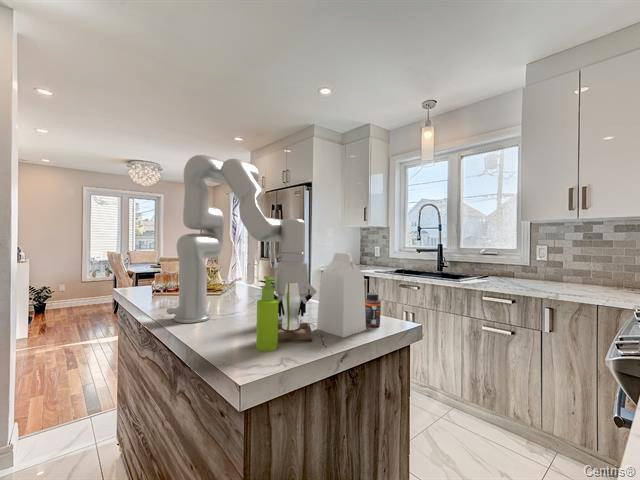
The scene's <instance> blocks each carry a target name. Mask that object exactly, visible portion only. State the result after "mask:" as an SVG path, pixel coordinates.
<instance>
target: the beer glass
mask: <svg viewBox="0 0 640 480" xmlns="http://www.w3.org/2000/svg"><path fill="white" fill-rule="evenodd" d="M301 304H302V295H299V289H298V283H286V289H285V295H281V307H282V314H283V321H282V326H281V330H283V331H286V332H296V331H299V330H300V329H301V327H300V323H301V322H300V316H301Z"/></svg>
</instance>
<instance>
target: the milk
mask: <svg viewBox="0 0 640 480" xmlns="http://www.w3.org/2000/svg"><path fill="white" fill-rule="evenodd" d="M318 293H319V294H318V308H317V319H316V330H318V331H322V332H325V333H328V334H331V335H335V336H337V335H338V337H340V336H341V338H346V337H350V336H352V334H353V335H355V333H356V334H359V333H362V332H361V331H363V332H365V331H364V330H366V331H367V326H366V319H365V299H366V298H365V297H366V296H365V295H366V294H365V293H366V292H365V276H364V273H363V272H362V270H360V268H359V267H358V266H357V265H356V264H355V262H354V260H353V257H352V254H351V253H349V252H335V253H334V255H333V257H332V261H330V262H329V264H328V265H327V266H326V267H325V268H324V269H323V271H322V272H321V274H320V279H319V292H318ZM358 332H359V333H358Z"/></svg>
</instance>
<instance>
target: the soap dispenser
mask: <svg viewBox="0 0 640 480" xmlns="http://www.w3.org/2000/svg"><path fill="white" fill-rule="evenodd" d="M263 279H265V281H264V287H262V289H261V299H258V300H257V301H256V337H255V339H256V342H255V343H256V344H255V348H256V350H257V351H259V352H272V351H276V350H277V349H278V348H279V347H278V346H279V345H278V343H279V342H278V317H279V313H278V303H279V301H278V300H275V299H274V294H275V289H274V288H273V287H271V286H272V282H276V277H274V276H272V275H265V276H263Z"/></svg>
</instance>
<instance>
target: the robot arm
mask: <svg viewBox="0 0 640 480" xmlns="http://www.w3.org/2000/svg"><path fill="white" fill-rule="evenodd" d="M259 179H260V174H259V171H258V168H257V167H256V166H255V165H253V164H252V163H249V162H247V161H244V160H241V159H237V158H229V159H226V160H222V159H218V158H216V157H213V156H209V155H204V154H195V155H194V156H191V157H190V158H189V159H188V160H187V161H186V164H185V165H184V168H183V183H184V199H183V212H182V213H183V214H182V221H183V224H184V226H185V227H186V228H187V229H188V230H194V231H203V233H186V234H183V235H181V236H180V237H179V238H178V240H177V243H176V254H177V258H178V272H179V273H178V306H177V307H167V309H166V313H167V314H168V315H175V316H173V321H174V322H177V323H183V324H191V323H201V322H204V321H209V319H211V314H210V313H209V312H207V295H208V294H207V291H208V289H207V288H208V286H207V285H208V283H207V281H208V270H207V267H206V264H205V261H204V260H206V259H214V258H217V257H219V255H221V252H222V251H223V246H224V233H225V216H224V213H223V212H222V210H221V209H220V208H218V207H216V206H213V205H210V192H209V188H208V186H207V184H206V181H208V182H212V183H217V184H219V185H220V184H221V185H225V186H228V187H229V188H230V190H231V191H232V193H233V194H234V196H235V197H236V199H237V201H238V202H239V206H238V213H239V218H240V220H241V223H242V224H243V226H244V228H245V229H246V230H247V232H248V233H249V235H250V236H251V237H252V238H253V239H254V240H256V241H258V242H272V243H274V242H277V243H278V242H280V252H279V253H278V254H275V259H278V260H279V261H278V262H277V266H276V273H275V281H274V283H272V284H271V287H273V288H274V292H275V293H274V299H275V300H278V301H279V303H278V317H279V316H281V295H285V289H286V283H298V289H299V295H302V304H301V311H300V316H301V317H305V316H304V314H306V313H307V309H306V308H307V303H308V302H309V301H310V300H311V299H312V297H314V295H315V294H316V293H317V290H316V289H315V287H313V286H312V284H310V283H309V270H308V263H307V262H305V253H306V251H305V247H306V246H305V245H306V221H304V220H303V219H301V218H284V219H280V218H279V219H278V218H274V217H267V216H265V215H264V214H263V212H262V210H261V209H260V207H259V206H258V203H257V202H258V201H260V199H261V197H262V195H263V190H262V188H261V187H260V185H259V184H258V182H259ZM309 291H310V292H309Z"/></svg>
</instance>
